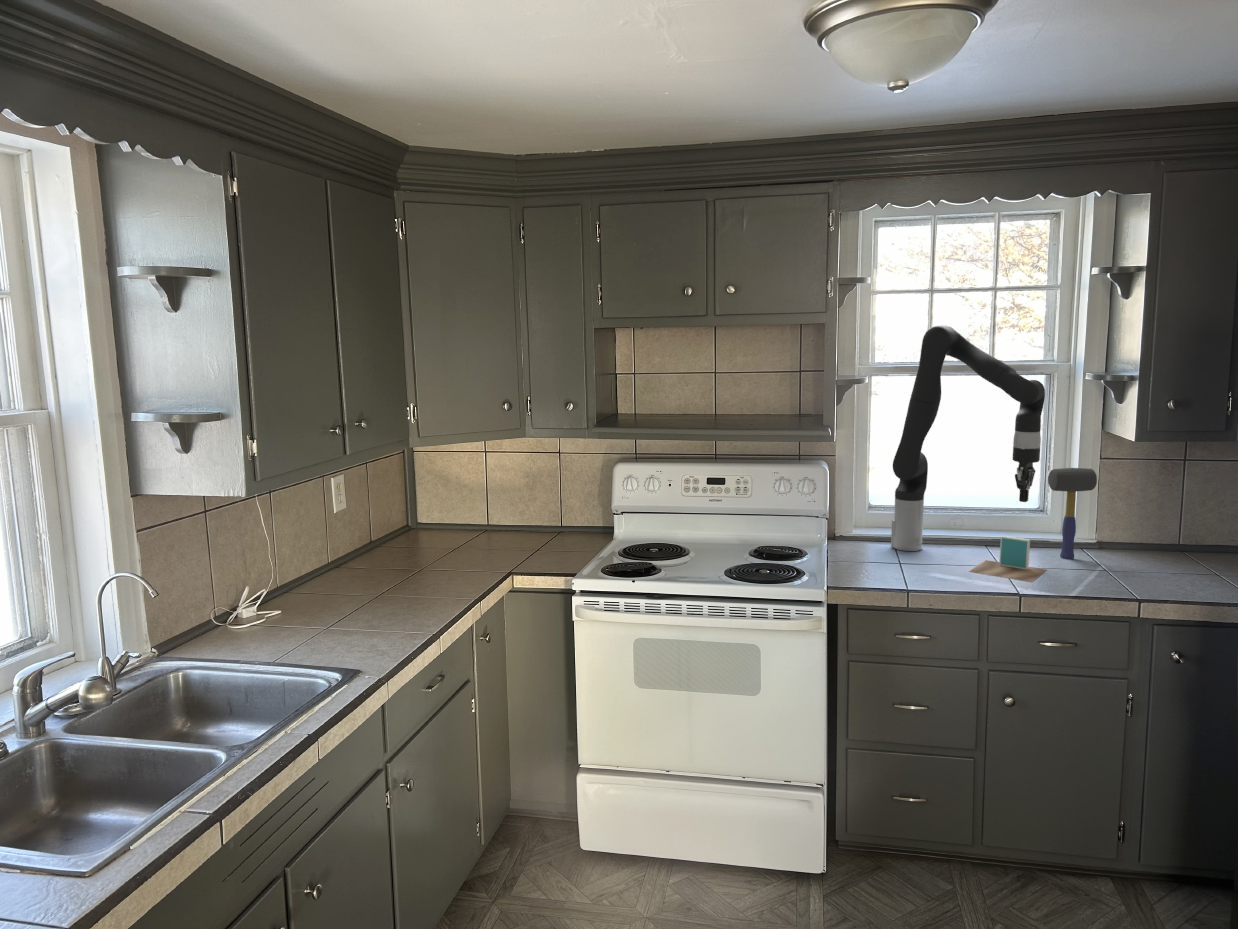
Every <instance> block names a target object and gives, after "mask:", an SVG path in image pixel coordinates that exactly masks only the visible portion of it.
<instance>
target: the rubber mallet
mask: <svg viewBox="0 0 1238 929" xmlns="http://www.w3.org/2000/svg"><path fill="white" fill-rule="evenodd" d="M1047 478H1048V479H1047V481H1048V486H1049V488H1050V489H1051V491H1053V492H1054V491H1055V492H1066V501H1065V502H1066V503H1065V515H1064V517H1063V521H1062V527H1061V528H1062V530H1061V533H1062V534H1061V535H1062V543H1061V545H1062V546H1061V550H1060V554H1059V556H1060V559H1063V560H1065V559H1066V560H1074V559H1075V552H1074V550H1075V549H1074V547H1075V546H1074V545H1075V537H1076V531H1077V529H1076V528H1077V521H1076V514H1075V513H1076V512H1075V511H1076V499H1077V497H1076V494H1077V492H1088V491H1094V489H1095V488H1096V486H1097V483H1098V476H1097V473H1096V472H1095V471H1094V469H1092V468H1086V467H1085V468H1084V467H1083V468H1082V467H1061V468H1053V469H1052V470H1050V471H1049V473H1048V477H1047Z"/></svg>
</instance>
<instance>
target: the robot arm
mask: <svg viewBox="0 0 1238 929" xmlns="http://www.w3.org/2000/svg"><path fill="white" fill-rule="evenodd" d="M921 342H922V343H921V348H920V349H921V350H920V356H919V364H918V369H917V373H916V376H915V379H914V382H913V387H912V391H911V395H910V398H909V402H908V406H907V407H908V408H907V410H906V411H907V412H906V417H905V421H904V425H903V430H902V433H901V438H900V441H899V444H898V447H897V450H896V452H895V455H894V458H893V461H892V470H893V473H894V475H895V476H896V477H897V478H898V479H899V482H898V485H897V487H896V488H895V491H894V513H893V514H894V516H893V519H892V520H891V532H890V534H891V538H890V541H891V542H890V548H891V549H896V550H898V551H903V552H916V551H921V550H922V549H923V530H924V529H923V528H924V505H925V504H924V502H925V493H926V490H927V485H928V484H927V483H928V474H929V473H928V468H929V466H928V459H927V456H926V455H925V454H924V453H923V452H922V449H923V444H924V441H925V439H926V437H927V436H928V433H929V431H931V428H932V426H933V424H934V422H935V420H936V418H937V415H938V413H939V412H938V411H939V407H940V404H941V399H942V379H941V375H942V370H943V369H942V368H943V365H944V362H945V358H946V356H948V357H951V358H954V359H956V360H958V361H960V362H961V363H963V364H965V365H966V366H968V368H970V369H971V370H972V371H973V372H974V373H976V375H979V377H981V378H982V379H984V380H985V381H987V382H988V383H990V384H992V385H994V386H996V387H997V388H999V389H1001V390H1002V391H1003V392H1004V393H1006V394H1007V395H1008V396H1010V397H1011V398H1012V399H1013V400H1014V401H1016V402H1018V403H1019V410H1018V412H1017V413H1016V416H1015V420H1014V421H1015V422H1014V423H1015V424H1014V425H1015V426H1014V435H1013V442H1012V461H1014V462H1017V463H1018V467H1016V473H1015V474H1014V479H1015V482H1016V483H1015V484H1016V487H1017V489H1018V490H1019V499H1018V500H1019V502H1020V503H1027V502H1029V495H1030V494H1029V493H1030V489H1031V487H1032V486H1033V481H1034V478H1035V474H1036V469H1035V467H1034V463H1039V462H1040V460H1041V459H1040V458H1041V446H1042V444H1041V440H1042V437H1041V436H1042V435H1041V429H1042V428H1041V426H1042V413H1043V408H1044V405H1045V399H1046V389H1045V386H1044V384H1043V383H1042V382H1041V381H1039V380H1036V379H1027V378H1025V377H1023V376H1022V375H1020V374H1018V372H1017V371H1016V369H1014V368H1013V367H1012V366H1009V364H1006V363H1005V362H1003V361H1001V360H999V359H998V358H996V357H994V356H992V355H990V354H989V353H987V352H985V351H983V350H982V349H980V348H979V347H977V346H976V345H974V344H973V343H971V341H969V340H967V339H966V338H965V337H964V336H963V335H961V333H959V332H958V331H957V330H956V329H954V328H953V327H951V326H948V325H935V326H932V327H930V328H928V329H927V330H926V332H925V333H924V335H923V336H922V340H921Z"/></svg>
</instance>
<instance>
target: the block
mask: <svg viewBox="0 0 1238 929" xmlns="http://www.w3.org/2000/svg"><path fill="white" fill-rule="evenodd" d="M999 546H1000V547H999V561H998V562H999V565H1002V566H1008V567H1015V568H1021V569H1028V568H1029V567H1030V553H1031V552H1030V551H1031V548H1030V547H1031V539H1028V538H1022V537H1015V536H1014V537H1013V536H1008V535H1001V536H1000V544H999Z"/></svg>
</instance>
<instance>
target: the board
mask: <svg viewBox="0 0 1238 929" xmlns="http://www.w3.org/2000/svg"><path fill="white" fill-rule="evenodd" d="M999 562H1000V561H996V560H995V561H994V560H988V559H986V560H984V561H983V562H981V563H979V564H978V565H977V566H975V567H973V568H972V569H970V570H969V571H968V572H969V573H974V574H979V575H986V576H993V577H999V578H1004V579H1010V580H1014V581H1015V580H1017V581H1021V582H1028V583H1034V582H1035V581H1036V580H1037V579H1039V578H1040V577H1041V576H1043V575H1045V573H1046V572H1047V571H1048V569H1046V568H1045V569H1044V568H1039V567H1033V566H1032V567H1031V566H1029V568H1028V569H1021V568H1015V567H1008V566H1002V565H999Z"/></svg>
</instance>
